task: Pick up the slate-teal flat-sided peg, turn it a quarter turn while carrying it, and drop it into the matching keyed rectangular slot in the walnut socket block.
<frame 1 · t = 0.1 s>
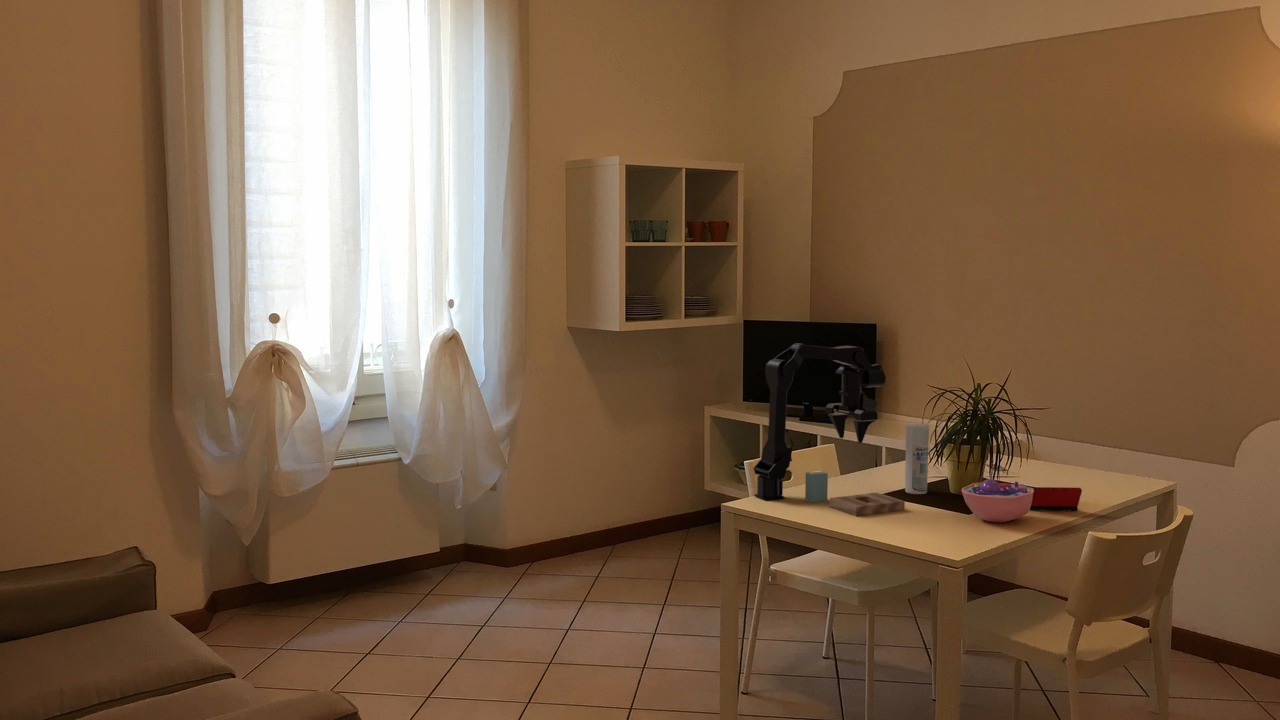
hand: (850, 440, 301), 15 cm above the table, fingers open, 9 cm apart
cell model: (997, 521, 264), on the table
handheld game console: (1051, 510, 276), on the table
keyed peg: (816, 500, 287), on the table
spray can: (916, 492, 298), on the table
socket block: (866, 508, 277), on the table
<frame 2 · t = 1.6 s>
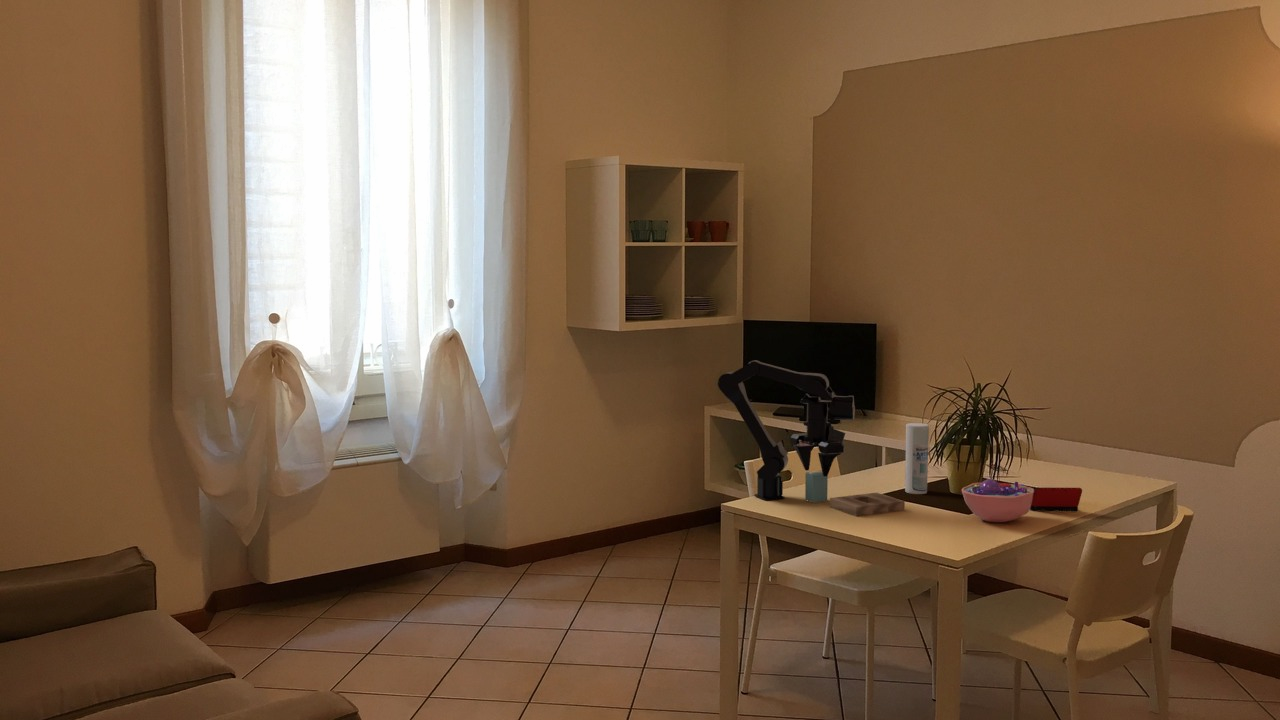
hand: (816, 473, 286), 8 cm above the table, fingers open, 9 cm apart
nothing on the table moved.
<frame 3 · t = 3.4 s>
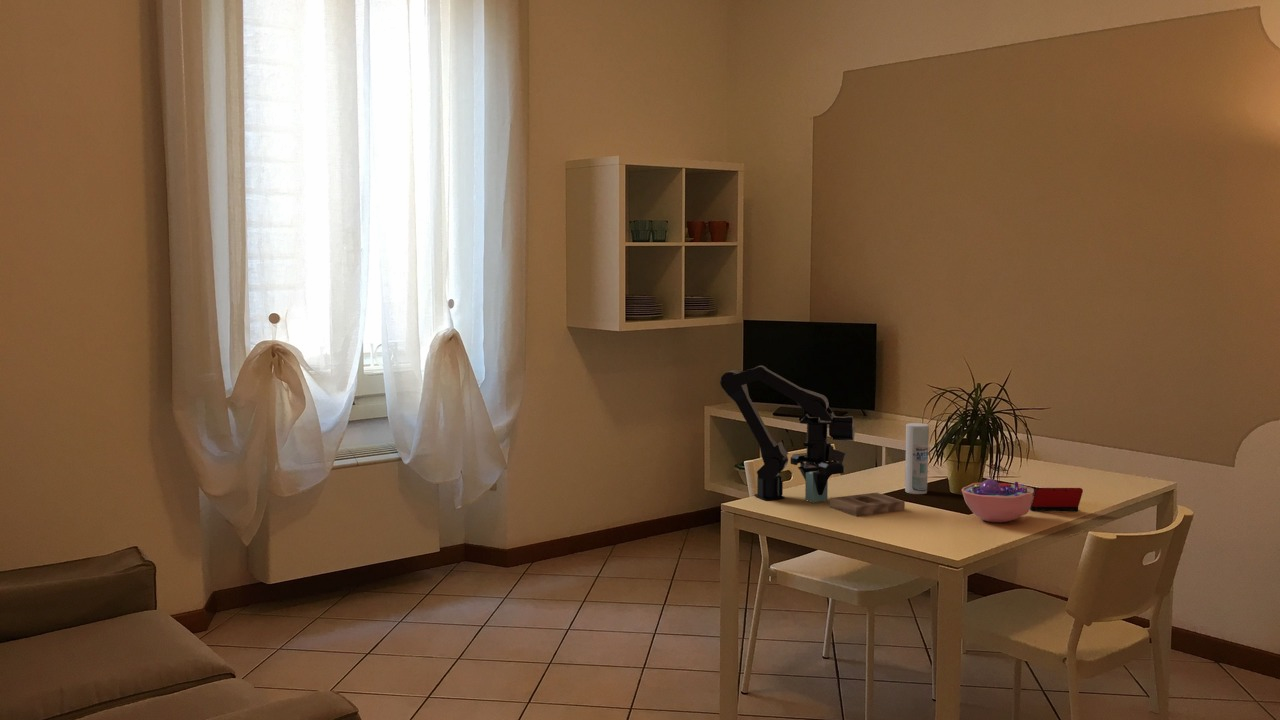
hand: (816, 493, 287), 2 cm above the table, fingers closed on keyed peg, 4 cm apart
keyed peg: (816, 500, 287), on the table, touching gripper
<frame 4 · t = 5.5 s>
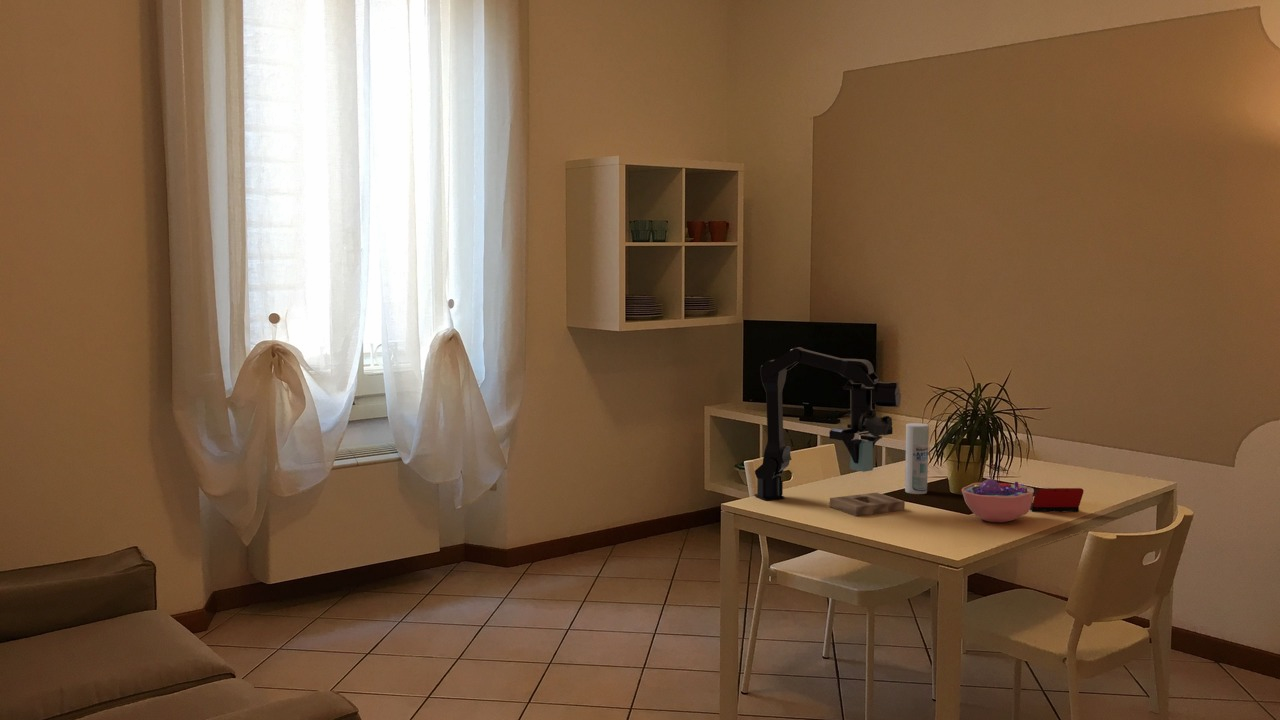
hand: (861, 462, 277), 13 cm above the table, fingers closed on keyed peg, 4 cm apart
keyed peg: (861, 469, 278), point 11 cm above the table, touching gripper
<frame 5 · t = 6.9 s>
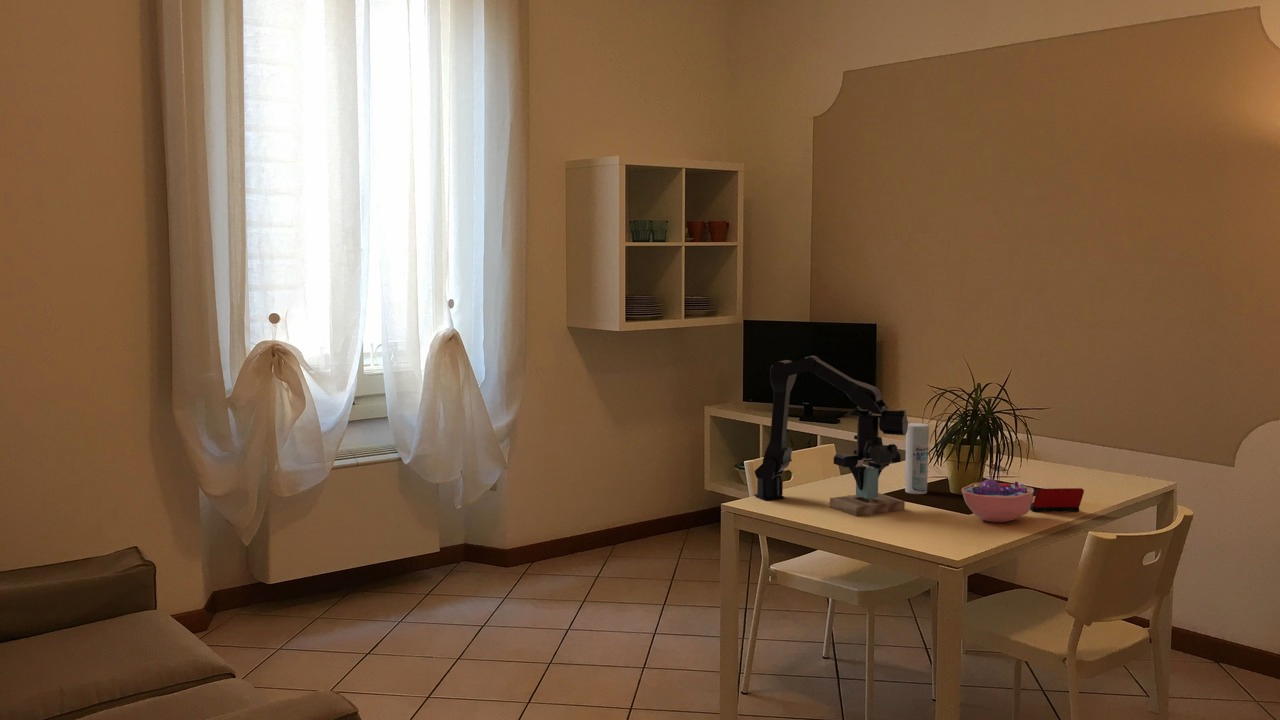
hand: (866, 489, 277), 5 cm above the table, fingers closed on keyed peg, 4 cm apart
keyed peg: (866, 496, 277), point 3 cm above the table, touching gripper
when the fingers open (3 cm above the table, at t = 8.0 s): keyed peg drops 2 cm, resting in socket block.
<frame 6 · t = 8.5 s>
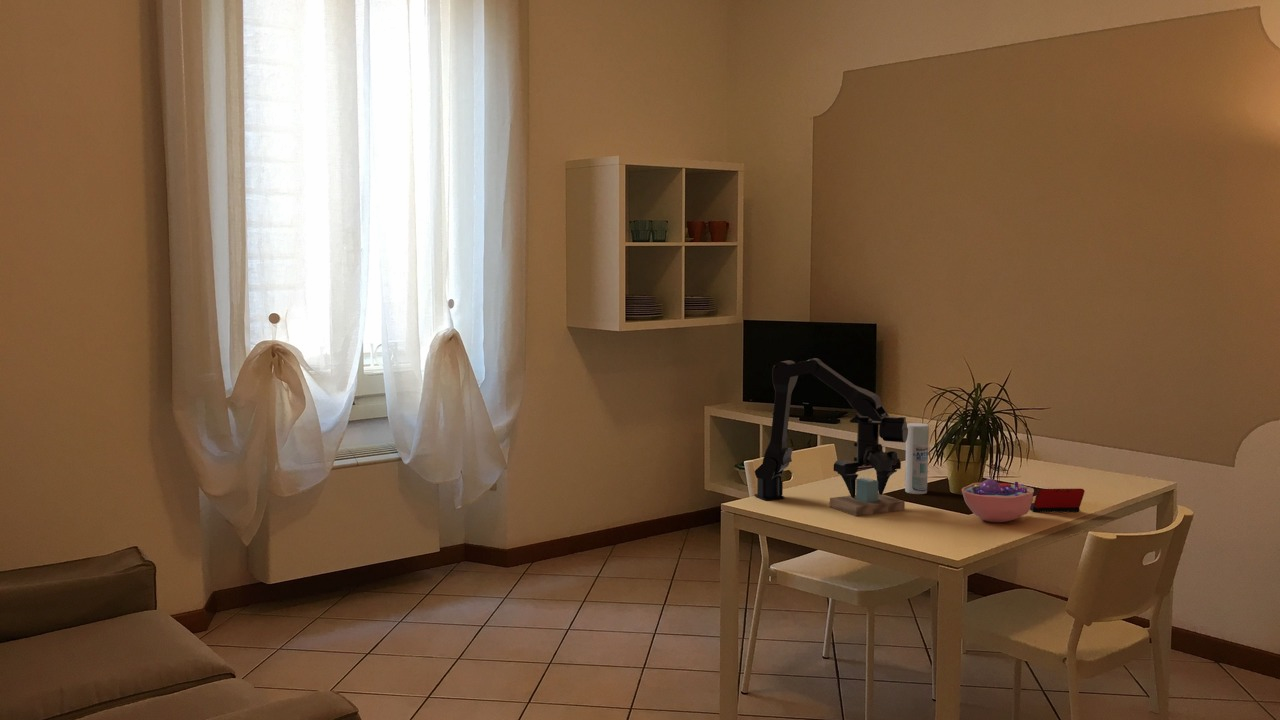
hand: (866, 496, 277), 3 cm above the table, fingers open, 9 cm apart
keyed peg: (866, 508, 277), resting in socket block
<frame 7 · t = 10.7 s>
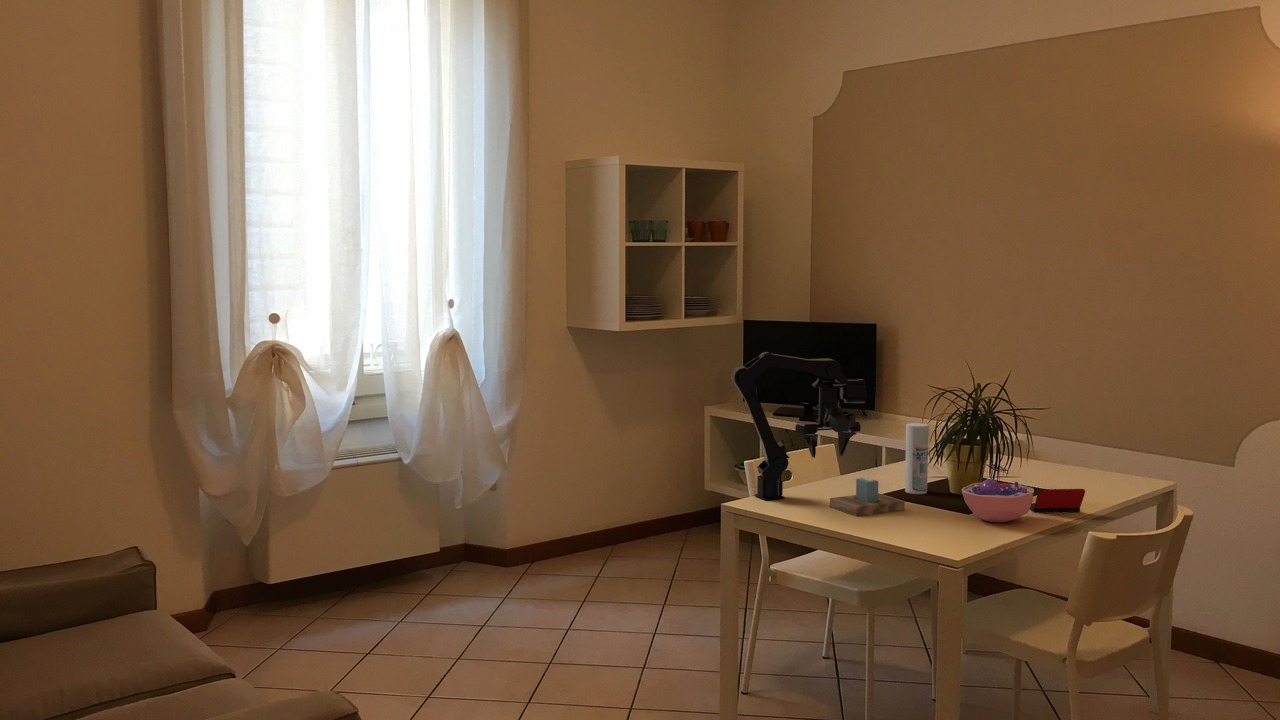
hand: (827, 456, 291), 12 cm above the table, fingers open, 9 cm apart
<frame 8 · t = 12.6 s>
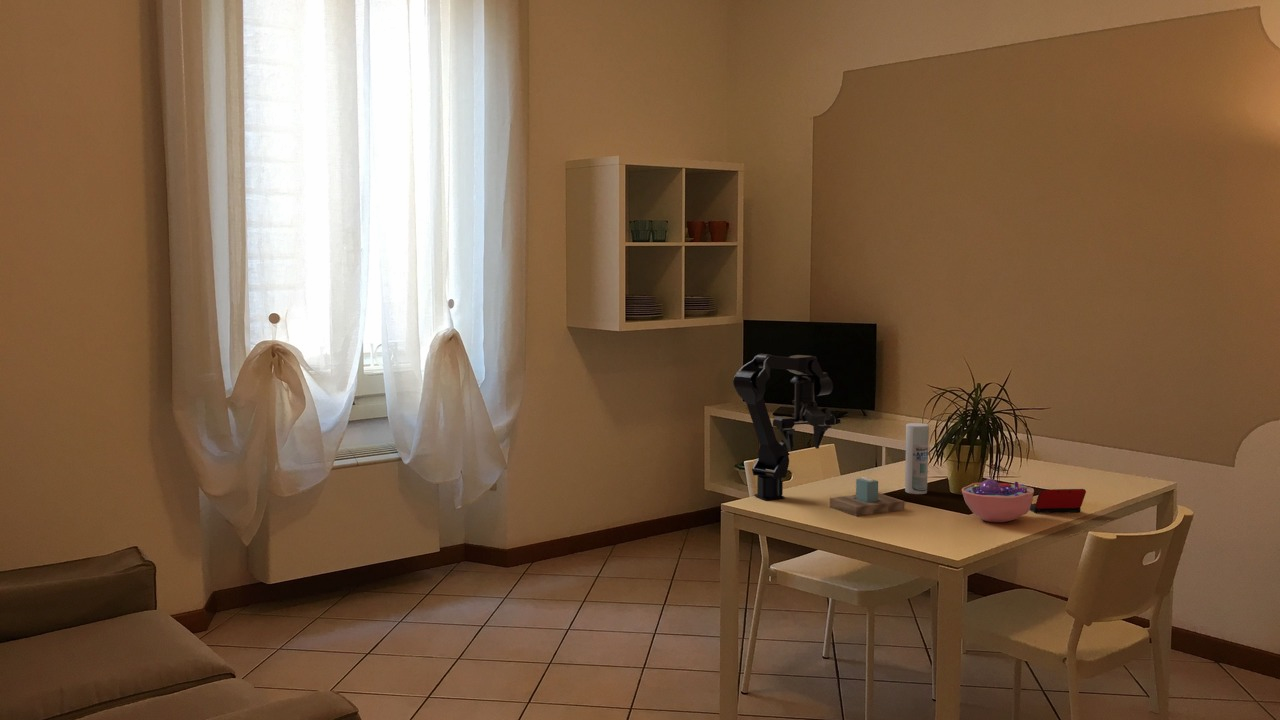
hand: (803, 449, 301), 12 cm above the table, fingers open, 9 cm apart
at the end: keyed peg 0.0 cm off-centre on the socket block, point 0.0 cm above the socket block's base; keyed peg tilted 0°; the gripper is holding nothing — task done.
